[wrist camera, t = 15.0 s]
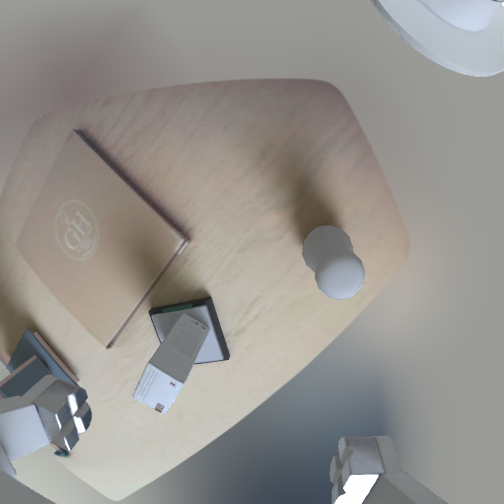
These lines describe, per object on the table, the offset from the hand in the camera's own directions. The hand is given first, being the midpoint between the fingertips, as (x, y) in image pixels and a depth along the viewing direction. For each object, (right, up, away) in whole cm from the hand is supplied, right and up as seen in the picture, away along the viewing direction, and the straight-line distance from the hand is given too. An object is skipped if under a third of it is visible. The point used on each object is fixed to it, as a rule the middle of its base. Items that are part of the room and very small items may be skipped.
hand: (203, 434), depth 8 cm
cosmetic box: (-7, -6, +33) cm, 34 cm away
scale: (-7, -6, +34) cm, 35 cm away
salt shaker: (+10, +6, +30) cm, 32 cm away
